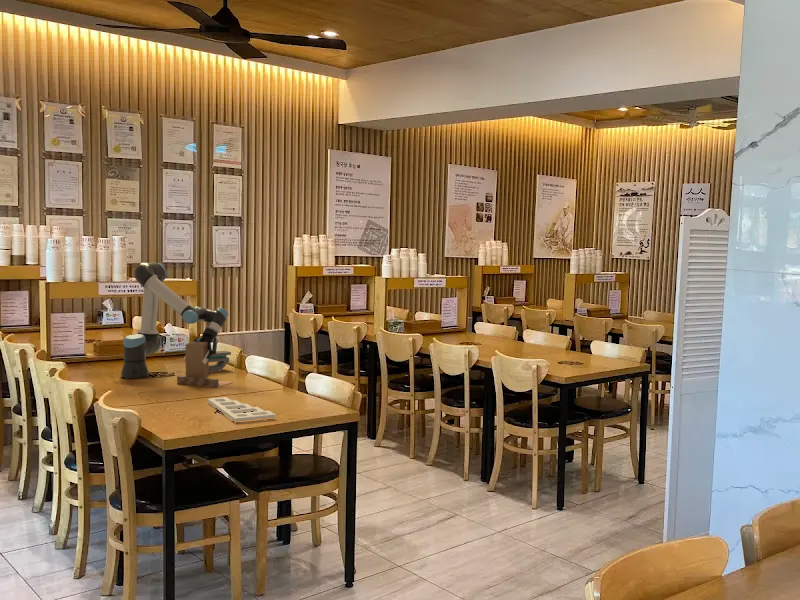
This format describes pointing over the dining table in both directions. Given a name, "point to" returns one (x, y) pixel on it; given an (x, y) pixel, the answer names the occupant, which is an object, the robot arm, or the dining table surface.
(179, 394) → the dining table surface
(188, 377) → the walnut straightedge
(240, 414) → the holder
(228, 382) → the terracotta end mark
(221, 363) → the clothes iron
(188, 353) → the wooden block
